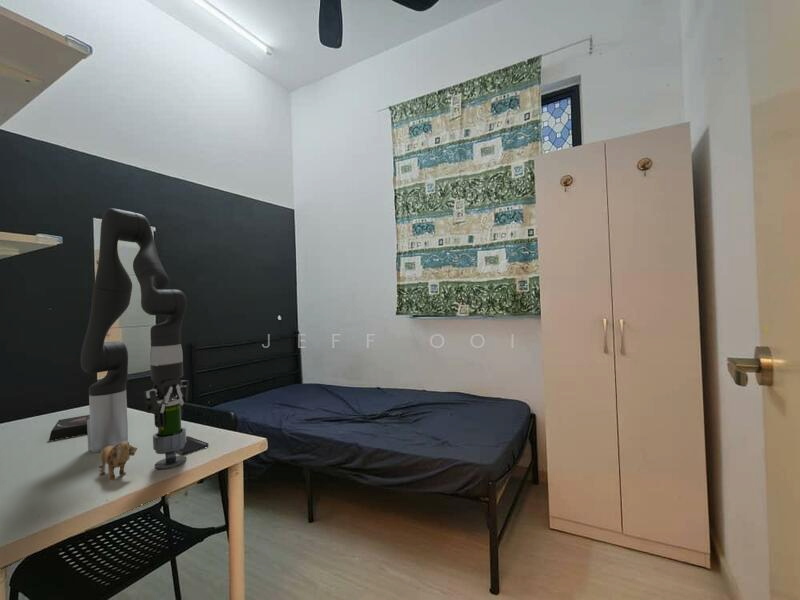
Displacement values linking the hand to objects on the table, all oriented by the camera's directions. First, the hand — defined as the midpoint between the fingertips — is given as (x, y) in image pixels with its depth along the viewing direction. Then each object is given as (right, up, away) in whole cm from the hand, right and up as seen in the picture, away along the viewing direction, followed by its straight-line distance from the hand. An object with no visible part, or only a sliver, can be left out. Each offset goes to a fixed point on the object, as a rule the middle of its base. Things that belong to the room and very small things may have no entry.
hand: (169, 422), depth 99 cm
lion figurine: (-11, -12, -5) cm, 17 cm away
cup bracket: (+1, -11, 0) cm, 11 cm away
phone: (-3, -12, +12) cm, 18 cm away
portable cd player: (-54, -15, +36) cm, 67 cm away
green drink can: (0, -6, 0) cm, 6 cm away
